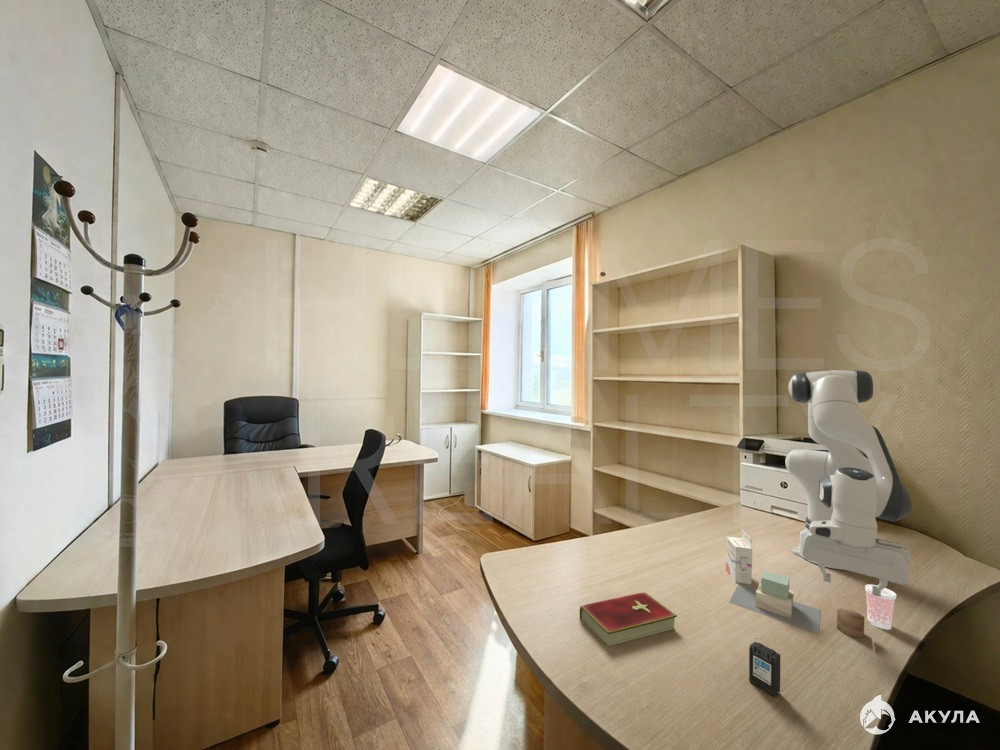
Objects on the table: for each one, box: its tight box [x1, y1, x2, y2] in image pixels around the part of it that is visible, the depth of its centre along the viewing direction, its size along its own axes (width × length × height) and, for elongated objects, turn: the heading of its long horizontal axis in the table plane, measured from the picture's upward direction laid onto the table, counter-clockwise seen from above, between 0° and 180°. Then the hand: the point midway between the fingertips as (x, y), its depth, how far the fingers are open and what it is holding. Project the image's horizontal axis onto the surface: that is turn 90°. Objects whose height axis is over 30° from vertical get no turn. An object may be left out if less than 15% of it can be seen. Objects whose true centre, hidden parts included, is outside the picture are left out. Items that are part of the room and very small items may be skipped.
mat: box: [728, 583, 822, 635], centre depth 112 cm, size 14×20×1 cm
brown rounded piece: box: [836, 607, 865, 639], centre depth 102 cm, size 5×5×5 cm
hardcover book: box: [579, 591, 678, 647], centre depth 103 cm, size 12×21×4 cm, turn 112°
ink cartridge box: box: [725, 529, 753, 585], centre depth 129 cm, size 9×5×15 cm, turn 168°
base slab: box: [756, 580, 795, 618], centre depth 112 cm, size 8×8×4 cm
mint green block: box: [760, 569, 791, 600], centre depth 112 cm, size 6×6×4 cm
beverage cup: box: [864, 582, 897, 630], centre depth 107 cm, size 6×6×14 cm
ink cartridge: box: [748, 641, 781, 697], centre depth 83 cm, size 5×2×8 cm, turn 32°
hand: (850, 587), depth 102 cm, fingers open, 8 cm apart
